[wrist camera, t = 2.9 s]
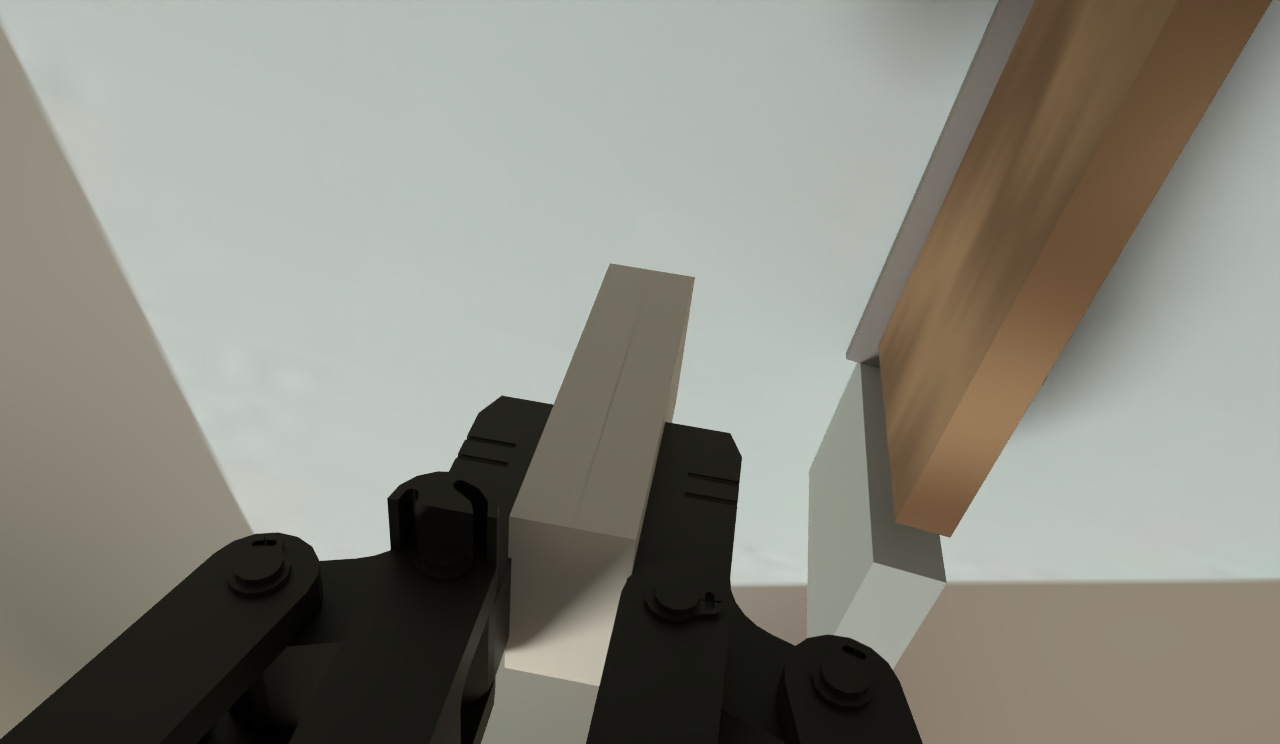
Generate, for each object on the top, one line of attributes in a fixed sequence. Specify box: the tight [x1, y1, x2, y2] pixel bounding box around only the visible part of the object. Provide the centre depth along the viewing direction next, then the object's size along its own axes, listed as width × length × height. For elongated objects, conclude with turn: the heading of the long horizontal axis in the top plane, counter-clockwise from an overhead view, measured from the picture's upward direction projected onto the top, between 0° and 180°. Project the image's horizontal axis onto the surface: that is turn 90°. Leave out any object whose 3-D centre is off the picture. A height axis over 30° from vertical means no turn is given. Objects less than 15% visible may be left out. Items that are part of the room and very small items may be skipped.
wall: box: [807, 0, 1035, 670], centre depth 18 cm, size 26×2×8 cm, turn 167°
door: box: [878, 0, 1272, 537], centre depth 18 cm, size 14×2×8 cm, turn 167°
